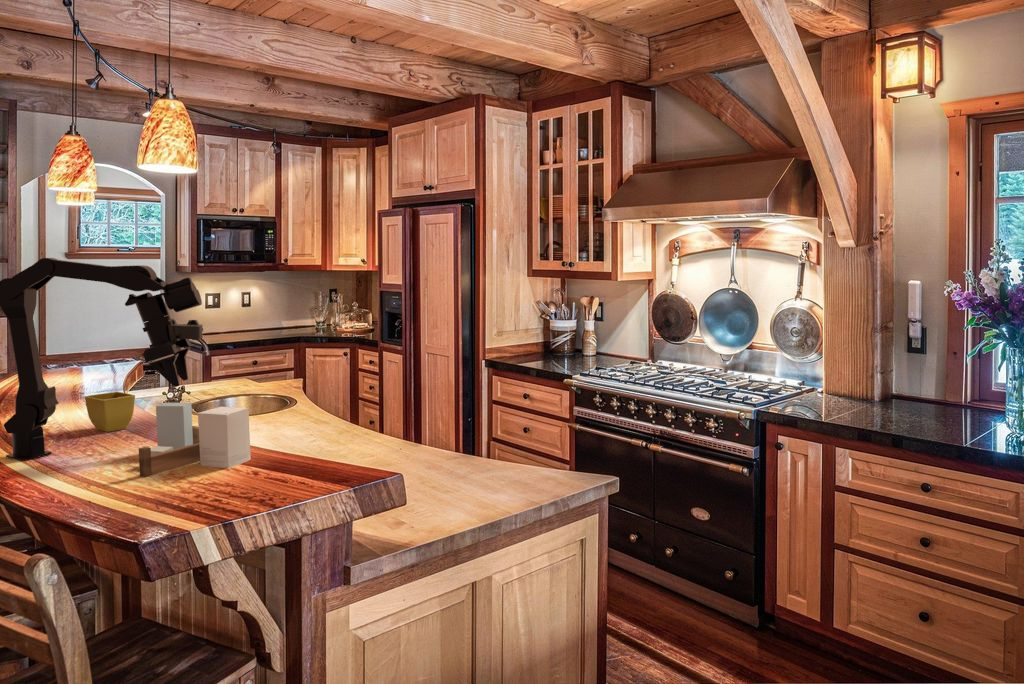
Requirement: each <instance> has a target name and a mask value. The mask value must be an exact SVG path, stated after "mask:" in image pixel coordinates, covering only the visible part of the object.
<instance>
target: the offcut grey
mask: <svg viewBox="0 0 1024 684" xmlns="http://www.w3.org/2000/svg"><path fill="white" fill-rule="evenodd" d="M150 448H151V455H154V454H158V453H162V452H166V451H169V450H173V447H163V446H158V445H157V446H156V445H154V446H151V447H150Z"/></svg>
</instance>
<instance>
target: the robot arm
mask: <svg viewBox="0 0 1024 684" xmlns="http://www.w3.org/2000/svg"><path fill="white" fill-rule="evenodd" d="M54 277H59V278H68V279H74V280H81V281H92V282H100V283H106V284H109V285H113V286H116V287H119V288H122V289H125V290H129V291H131V292H132V291H133V292H144V291H145V292H144V293H142V294H138V295H135V293H130V294H129V295H128V298H127V300H126V301H125V303H124V306H125V307H129V306H133V305H135V306H136V308H137V311H138V314H139V316H140V318H141V321H142V324H143V326H144V327H142V331H143V333H146V334H147V336H148V338H149V341H150V344H149V346H148V348H145V349H144V351H143V353H142V357H143V359H144V361H145V363H148V365H149V366H151V367H152V368H153V369H154V370H155V371H156V372H157V373H159V374H160V375H161V376H162V377H163V378H164V379H165V380H166V381H167V382H169V384H171V386H172V387H173V388H177V387H180V381H179V378H180V379H181V380H182V381H184V382H185V381H188V379H189V375H188V366H187V354H188V353H189V351H190V349H191V345H192V343H191V340H193V341H200V340H201V339H203V331H204V328H203V324H200V323H199V321H198V320H197V319H189V320H188V321H187V323H182V324H180V323H178V324H177V321H176V319H174V318H172V317H171V316H170V313H169V311H168V310H170V311H171V310H174V312H175V313H180V312H184V311H186V310H189V309H193V308H196V307H200V306H202V304H203V301H202V297H201V294H200V291H199V289H197V287H196V284H195V283H194V282H193V280H192V277H190V276H189V277H185V278H183V279H181V280H178V281H174V282H171V283H167V282H166V281H165V280H163V279H161V278H160V277H158V276H157V273H156V271H155V270H154V269H153V268H152V267H150V266H148V265H144V264H143V265H117V266H116V265H115V266H114V265H113V266H110V265H102V264H95V263H85V262H77V261H70V260H61V259H57V258H55V257H42V258H40V259H39V260H37V261H36V262H35V263H33V264H32V265H31V266H28V267H27V268H25V269H23V270H21V271H20V272H18V273H16V274H15V275H13V276H12V277H6V278H2V279H1V280H0V310H1V311H2V313H3V314H4V316H5V318H6V319H7V321H8V325H9V326H8V327H9V331H10V333H9V334H10V337H11V343H12V349H13V356H14V361H15V367H16V372H17V378H18V389H17V392H16V395H15V409H14V411H15V413H14V414H13V415H12V416H11V417H10V418H9V419H7V421H5V422H4V423H3V428H4V429H5V432H6V433H7V434H11V443H12V453H10V454H5V458H7V457H8V458H7V459H13V460H18V461H27V459H28V460H33V459H35V458H39V456H41V457H44V455H45V456H49V455H52V451H50V450H49V451H48V450H46V449H45V448H46V447H45V446H46V445H45V435H44V428H43V426H45V425H47V423H48V419H49V418H50V417H52V416H53V414H54V413H55V412H56V409H57V408H56V407H57V405H59V400H57V395H56V390H57V389H56V386H50V387H49V386H48V385H47V383H46V382H45V379H44V377H43V376H44V375H43V369H42V364H41V357H40V352H39V345H38V339H37V334H36V328H35V323H34V315H35V311H36V308H37V302H38V301H37V299H38V298H37V294H38V291H40V290H41V289H42V288H44V287H45V286H46V285H47V284H48V283H49V282H50V281H51V280H52V279H54ZM146 291H148V292H146ZM149 291H151V292H159V291H160V292H161V291H163V292H162V293H158V294H155V295H153V294H152V293H151V292H149Z"/></svg>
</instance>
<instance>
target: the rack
mask: <svg viewBox="0 0 1024 684" xmlns="http://www.w3.org/2000/svg"><path fill="white" fill-rule="evenodd" d="M192 431H193V444H192V445H188V446H185V447H181V448H177V449H173V450H169V451H166V452H162V453H158V454H154V455H151V448H152V447H148V446H143V447H139V448H138V463H139V465H138V467H139V477H143V478H147V477H151V476H155V475H157V474H161V473H165V472H168V471H172V470H175V469H178V468H181V467H185V466H189V465H192V464H194V463H199V462H200V446H199V426H196V425H192Z"/></svg>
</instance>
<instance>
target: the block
mask: <svg viewBox="0 0 1024 684" xmlns="http://www.w3.org/2000/svg"><path fill="white" fill-rule="evenodd" d="M155 415H156V416H155V418H156V420H155V421H156V435H157V436H156V438H157V446H163V447H173V449H177V448H181V447H185V446H188V445H192V444H194V443H193V431H192V426H193V410H192V402H163V403H160V404H157V405H156V406H155Z"/></svg>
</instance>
